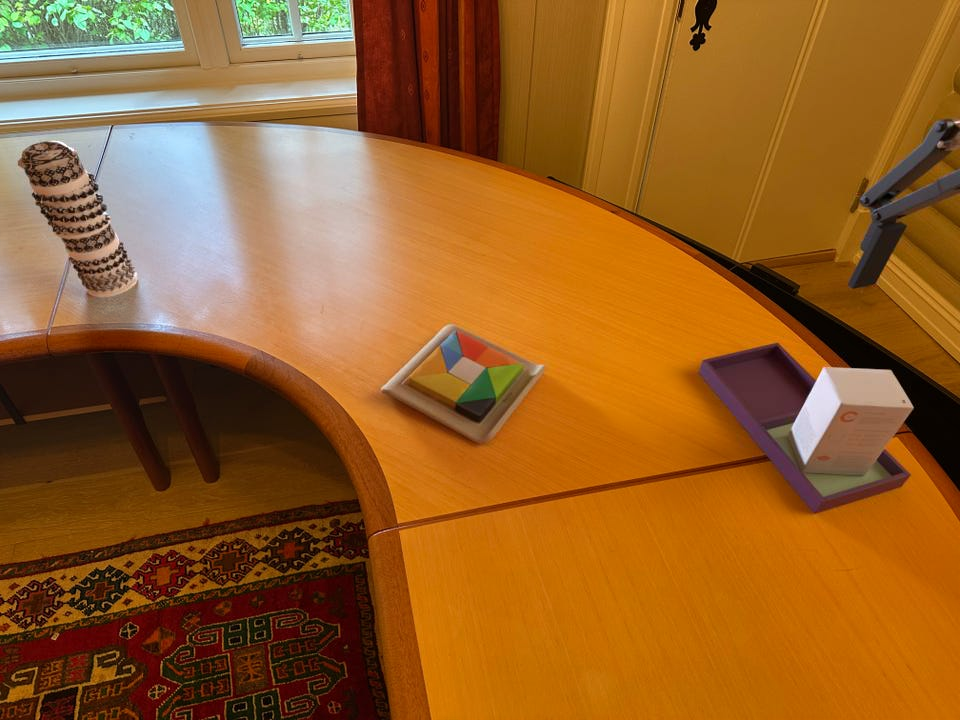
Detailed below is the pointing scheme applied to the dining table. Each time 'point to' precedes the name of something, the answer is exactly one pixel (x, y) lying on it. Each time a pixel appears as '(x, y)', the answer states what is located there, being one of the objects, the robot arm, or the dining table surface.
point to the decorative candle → (78, 217)
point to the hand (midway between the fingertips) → (916, 327)
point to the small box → (848, 420)
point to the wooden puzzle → (465, 383)
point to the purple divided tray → (788, 423)
